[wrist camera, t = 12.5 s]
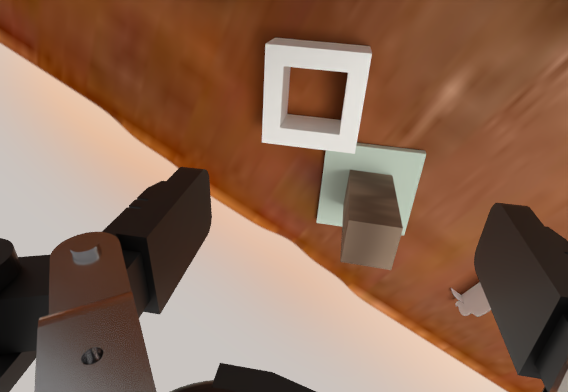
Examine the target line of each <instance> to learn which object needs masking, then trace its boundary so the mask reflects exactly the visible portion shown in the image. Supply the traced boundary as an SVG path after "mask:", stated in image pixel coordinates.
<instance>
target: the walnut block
mask: <svg viewBox="0 0 568 392" xmlns="http://www.w3.org/2000/svg"><path fill="white" fill-rule="evenodd" d="M402 230H403V226H402V221H401V216H400V211H399V206H398V201H397V196H396V191H395V186H394V181H393V176H392V175H386V174H379V173H372V172H364V171H357V170H350V172H349V177H348V183H347V188H346V194H345V199H344V205H343V223H342V243H341V262H345V263H351V264H357V265H364V266H370V267H376V268H382V269H388V270H391V269H392V265H393V262H394V258H395V255H396V251H397V248H398V244H399V241H400V237H401V234H402Z"/></svg>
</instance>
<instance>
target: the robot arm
mask: <svg viewBox="0 0 568 392" xmlns="http://www.w3.org/2000/svg"><path fill="white" fill-rule="evenodd" d="M211 218H212V215H211V199H210V184H209V175H208V172H207V170H205V169H196V168H187V167H180V168H179V169H178V170H177V171H176V172H175V173H174V174H173V175H172V176H171V177H170V178H169V179H168V180H167V181H161V182H159V183H157V184H155V185H153V186H151V187H149V188H147V189H146V190H145V191H144V192H143V193H142V194H141V195H140V196H139V197H138V198H137V200H134V201H133V202H132V203H131V204H130V205H129V208H126V209H125V210H124V211H123V212H122V213H121V214H120V215H119V216H118V217H117V218H116V219H115V220H114V221H113V222H112V223H111V224H110V225H108V226H107V228H106V229H104V230H103V231H102V232H89V233H84V234H80V235H77V236H74V237H72V238H69V239H67V240H65V241H64V242H62V243H61V244H59V245H58V246H57V247H56V248H55V249H54V250H53V251H52V253H51V255H42V256H29V257H18V256H17V254H16V252H15V249H14V246H13V244H12V243H11V242H10V241H8V240H5V239H1V238H0V392H9V391H10V390H11V389H12V388H13V386H14V385H15V384H16V383H17V381H18V380H19V379H20V377H21V376H22V375H23V373H24V372H25V371H26V370H27V368H28V367H29V366H30V365H31V363H32V362H33V361H34V360H35V358H36V373H35V392H156V388H155V384H154V380H153V376H152V372H151V368H150V364H149V359H148V355H147V351H146V347H145V343H144V339H143V334H142V330H141V326H140V322H139V317H140V315H141V314H142V313H143V312H149V313H155V314H160V313H161V312H162V310H163V308H164V307H165V305H166V303H167V302H168V300H169V298H170V297H171V295H172V293H173V292H174V290H175V288H176V287H177V285H178V283H179V282H180V280H181V278H182V276H183V275H184V273H185V272H186V270H187V268H188V266H189V265H190V263H191V262H192V260H193V258H194V257H195V255H196V253H197V251H198V250H199V248H200V247H201V245H202V243H203V242H204V240H205V238H206V237H207V235H208V233H209V229H210V226H211ZM474 265H475V271H476V274H477V276H478V279H479V281H480V283H481V286H482V288H483V291H484V293H485V296H486V298H487V300H488V303H489V305H490V308H491V310H492V313H493V315H494V318H495V320H496V322H497V325H498V327H499V330H500V332H501V335H502V337H503V339H504V342H505V344H506V347H507V349H508V352H509V354H510V357H511V359H512V361H513V364H514V366H515V369H516V371H517V374H518V375H521V376H527V377H533V378H539V379H542V381H543V383H544V385H545V387H544V388H543V390H542V391H541V392H568V241H567V240H566V239H565V238H563V237H562V236H560V235H559V234H557V233H556V232H555V231H553V230H552V229H550V228H549V227H544V225H543V224H542V223H541V221H540V220H539V219H538V218H537V216H536V215H535V214H534V212H533V211H532V210H531V209H530V208H529V207H528V206H521V205H512V204H504V203H496V204H494V205H493V206H492V208H491V210H490V212H489V215H488V218H487V221H486V223H485V226H484V229H483V232H482V234H481V237H480V240H479V243H478V245H477V248H476V252H475V258H474ZM171 392H316V391H313V390H311V389H309V388H307V387H304V386H302V385H300V384H297V383H295V382H293V381H290V380H289V379H286V378H284V377H282V376H280V375H277V374H275V373H273V372H267V371H262V370H256V369H250V368H245V367H240V366H234V365H228V364H223V363H220V365H219V368H218V370H217V373H216V376H215V378H214V380H212V381H203V382H198V383H193V384H190V385H187V386H183V387H180V388H178V389H175V390H173V391H171Z"/></svg>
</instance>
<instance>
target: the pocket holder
mask: <svg viewBox="0 0 568 392" xmlns="http://www.w3.org/2000/svg"><path fill="white" fill-rule="evenodd" d="M371 56H372V52H371V48H370V46H363V45H352V44H341V43H330V42H319V41H308V40H297V39H286V38H274V39H272V40H271V41H269V42H267V43H266V44H265V71H264V97H263V124H262V143H270V144H279V145H287V146H295V147H303V148H311V149H320V150H328V151H336V152H344V153H352V154H355V150H356V144H357V138H358V132H359V127H360V121H361V115H362V109H363V103H364V97H365V91H366V85H367V80H368V74H369V68H370V62H371ZM290 67H297V68H307V69H317V70H327V71H337V72H347V73H348V74H347V81H346V88H345V95H344V102H343V109H342V116H341V120H337V119H328V118H319V117H310V116H301V115H293V114H287V110H288V96H289V81H290Z"/></svg>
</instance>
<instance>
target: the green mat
mask: <svg viewBox="0 0 568 392" xmlns="http://www.w3.org/2000/svg"><path fill="white" fill-rule="evenodd" d="M425 157H426V152H425V151H423V150H414V149H406V148H398V147H389V146H381V145H372V144H364V143H357V144H356V150H355V154H352V153H344V152H336V151H328V150H326V153H325V161H324V169H323V176H322V184H321V192H320V200H319V208H318V215H317V223H322V224H329V225H336V226H342V223H343V205H344V199H345V194H346V188H347V183H348V177H349V172H350V170H357V171H364V172H372V173H379V174H386V175H392V176H393V181H394V186H395V191H396V196H397V201H398V206H399V211H400V216H401V221H402V226H403V230H402V234H401V235H404V234H405V231H406V227H407V223H408V220H409V216H410V212H411V209H412V205H413V201H414V198H415V194H416V190H417V187H418V183H419V179H420V176H421V172H422V168H423V165H424V161H425Z"/></svg>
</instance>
